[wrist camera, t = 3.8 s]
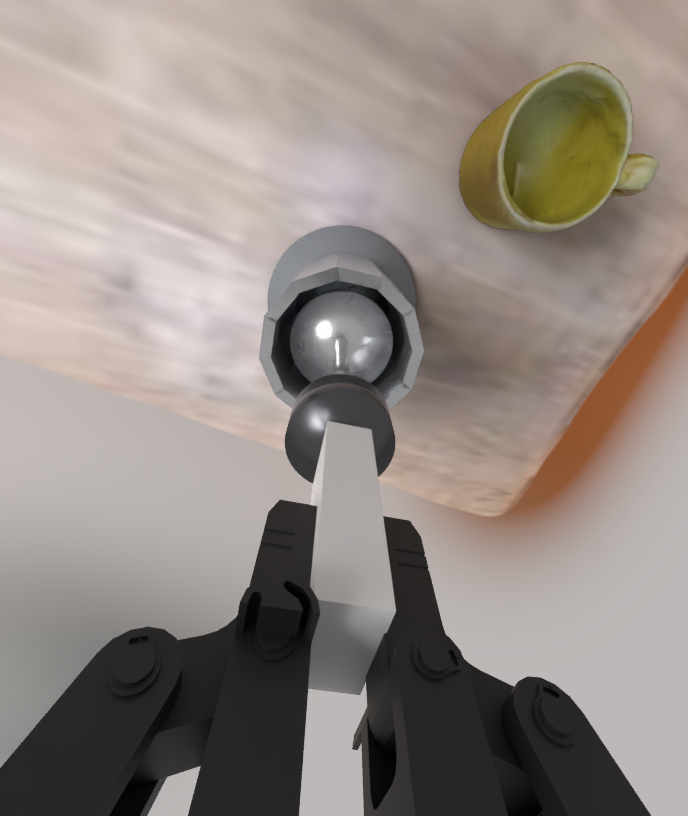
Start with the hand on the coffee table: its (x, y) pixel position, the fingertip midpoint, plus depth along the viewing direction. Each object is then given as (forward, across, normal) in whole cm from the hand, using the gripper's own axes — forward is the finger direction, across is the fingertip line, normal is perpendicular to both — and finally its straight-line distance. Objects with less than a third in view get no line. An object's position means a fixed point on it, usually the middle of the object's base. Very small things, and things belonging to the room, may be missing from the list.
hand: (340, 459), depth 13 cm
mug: (+26, +13, +14) cm, 32 cm away
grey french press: (+25, 0, -2) cm, 25 cm away
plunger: (+14, 0, 0) cm, 14 cm away
